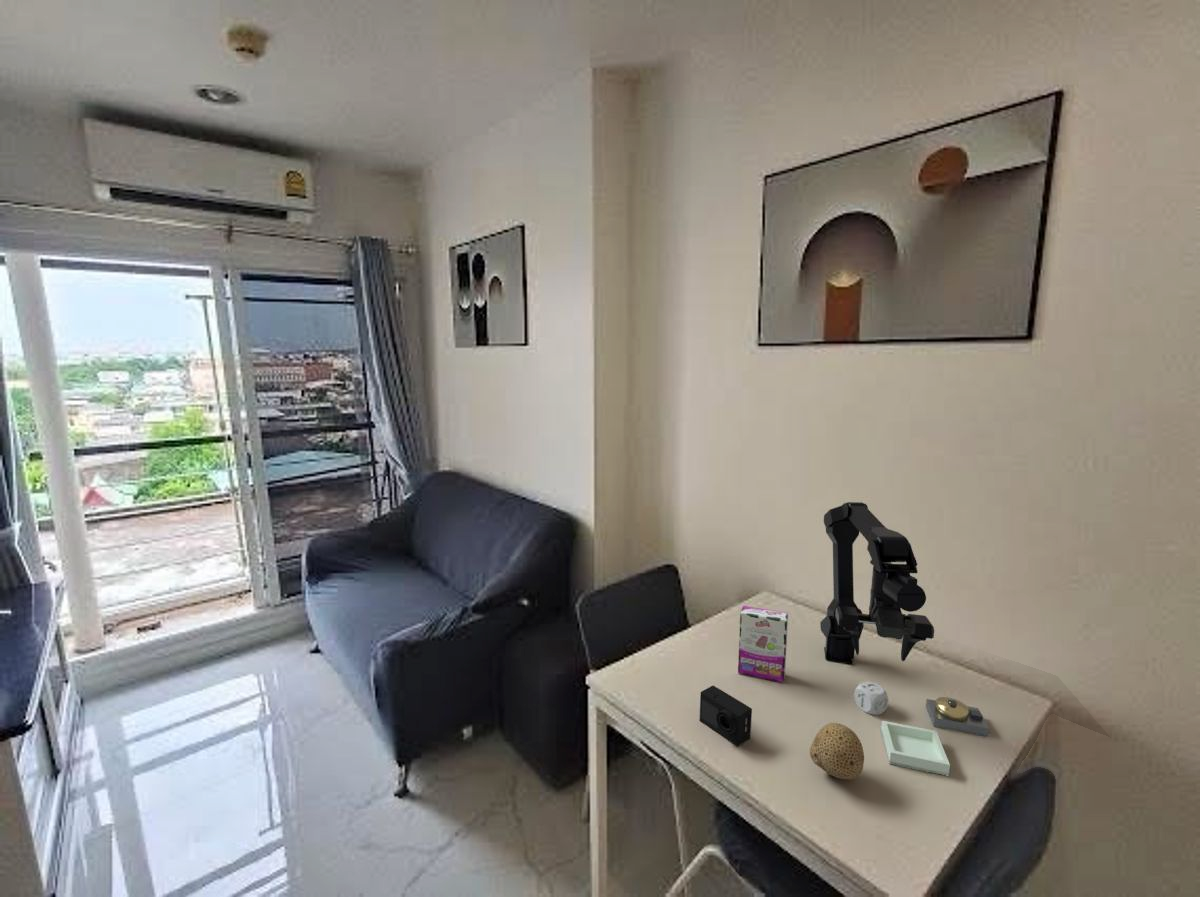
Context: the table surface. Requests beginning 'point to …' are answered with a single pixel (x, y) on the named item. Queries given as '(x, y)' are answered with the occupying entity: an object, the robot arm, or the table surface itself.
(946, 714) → the call bell
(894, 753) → the tray
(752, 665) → the candy bar box
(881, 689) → the die
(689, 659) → the table surface
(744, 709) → the digital camera
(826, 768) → the natural sponge
